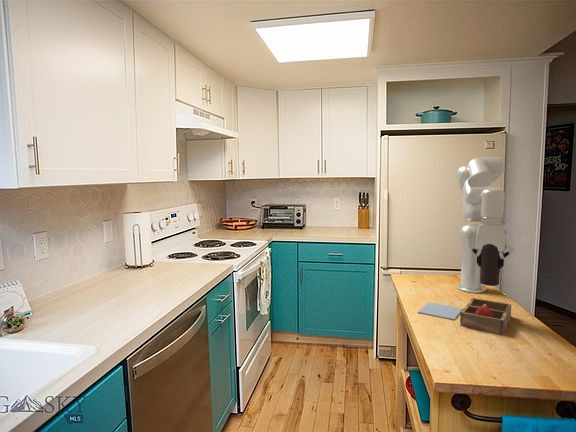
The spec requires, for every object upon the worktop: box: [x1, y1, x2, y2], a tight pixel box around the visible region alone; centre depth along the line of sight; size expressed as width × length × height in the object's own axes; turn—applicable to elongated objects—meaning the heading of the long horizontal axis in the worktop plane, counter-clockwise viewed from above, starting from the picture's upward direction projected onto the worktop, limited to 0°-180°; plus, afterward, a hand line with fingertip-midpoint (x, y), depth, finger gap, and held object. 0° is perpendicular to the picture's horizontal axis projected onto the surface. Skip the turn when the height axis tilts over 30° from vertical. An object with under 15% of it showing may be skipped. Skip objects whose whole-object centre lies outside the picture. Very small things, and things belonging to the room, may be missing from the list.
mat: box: [417, 301, 464, 321], centre depth 156 cm, size 14×14×1 cm
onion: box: [475, 304, 493, 318], centre depth 140 cm, size 6×6×8 cm
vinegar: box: [480, 244, 501, 287], centre depth 146 cm, size 7×7×20 cm
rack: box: [459, 297, 512, 335], centre depth 144 cm, size 20×14×5 cm
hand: (489, 266), depth 147 cm, fingers closed on vinegar, 6 cm apart
